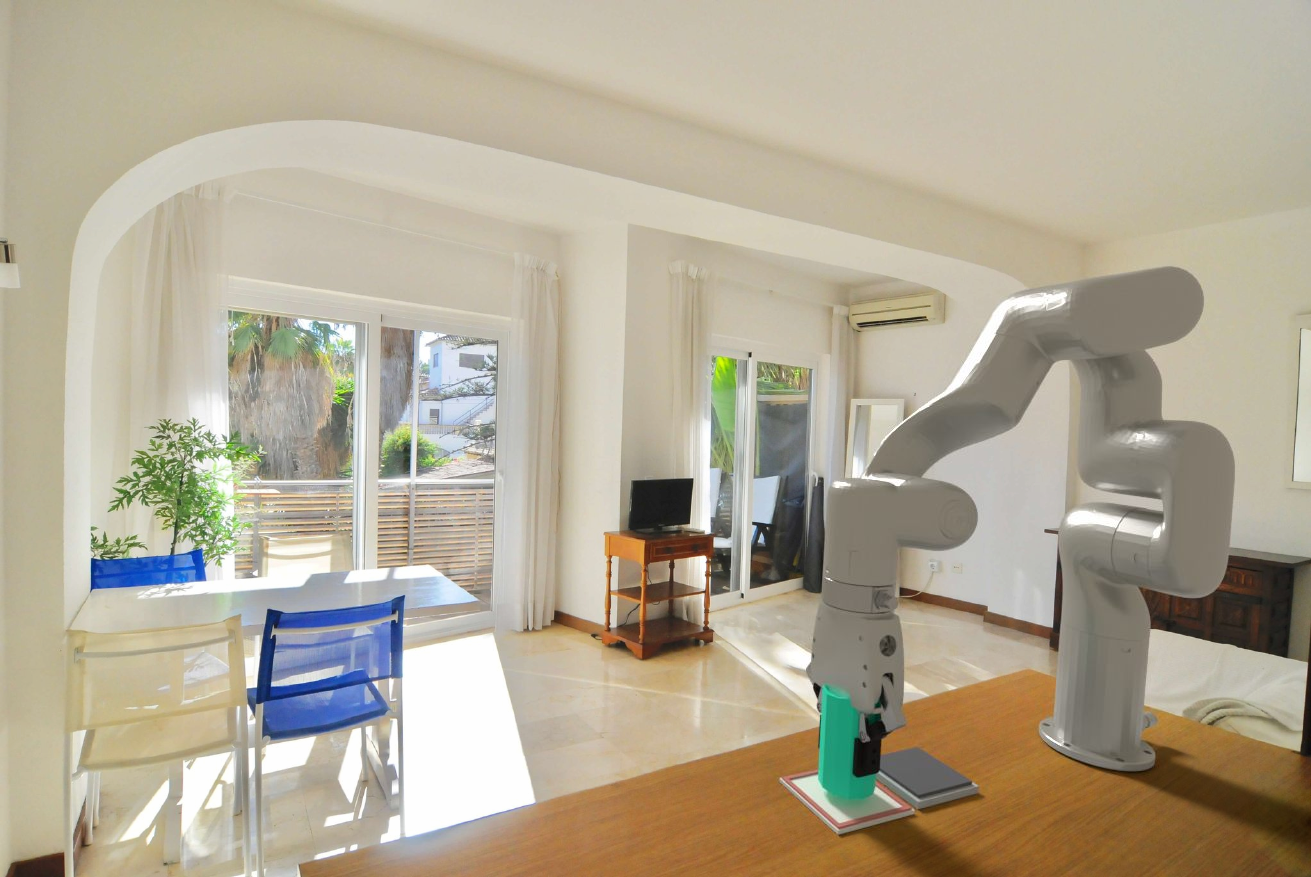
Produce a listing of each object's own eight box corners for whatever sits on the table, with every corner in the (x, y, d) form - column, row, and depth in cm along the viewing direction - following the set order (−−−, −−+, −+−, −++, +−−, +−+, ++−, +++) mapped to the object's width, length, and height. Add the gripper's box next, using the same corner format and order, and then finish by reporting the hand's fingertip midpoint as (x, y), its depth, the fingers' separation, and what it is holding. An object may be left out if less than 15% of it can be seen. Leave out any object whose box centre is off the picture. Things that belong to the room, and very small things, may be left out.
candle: (878, 803, 70) (884, 689, 69) (818, 794, 71) (824, 682, 70) (872, 772, 76) (877, 667, 75) (817, 765, 77) (822, 661, 76)
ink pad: (916, 753, 84) (917, 744, 84) (978, 793, 75) (979, 782, 75) (859, 766, 80) (860, 756, 80) (917, 809, 72) (918, 798, 72)
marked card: (849, 765, 80) (850, 761, 80) (914, 813, 71) (914, 808, 71) (779, 781, 76) (779, 776, 76) (837, 834, 67) (838, 828, 67)
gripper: (947, 615, 66) (935, 796, 67) (834, 573, 82) (825, 721, 82) (888, 622, 63) (876, 812, 64) (782, 577, 78) (773, 730, 79)
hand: (848, 759), depth 73 cm, fingers closed on candle, 4 cm apart
